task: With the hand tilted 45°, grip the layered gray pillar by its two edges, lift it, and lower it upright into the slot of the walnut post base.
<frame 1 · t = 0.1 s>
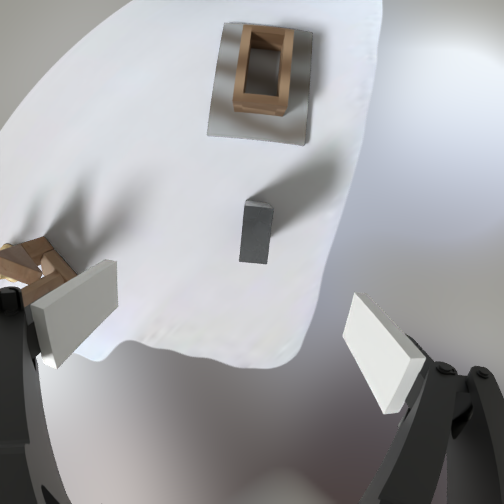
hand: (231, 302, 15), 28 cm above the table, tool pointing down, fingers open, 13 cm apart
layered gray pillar: (253, 221, 42), on the table
hand bell: (10, 262, 43), on the table
wooden angular frame: (57, 261, 43), on the table
post slot: (262, 78, 37), on the table
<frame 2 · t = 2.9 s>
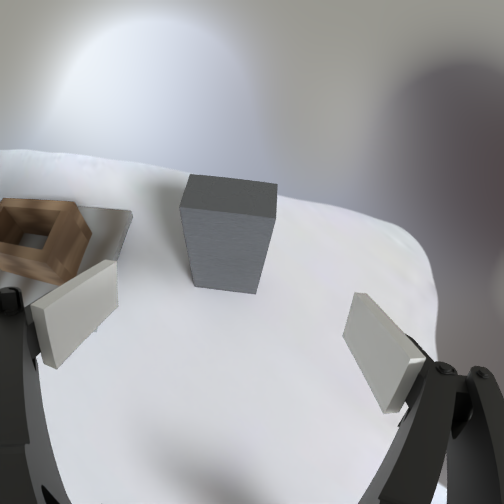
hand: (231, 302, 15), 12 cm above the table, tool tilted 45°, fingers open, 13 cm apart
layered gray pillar: (226, 276, 28), on the table
post slot: (46, 256, 27), on the table
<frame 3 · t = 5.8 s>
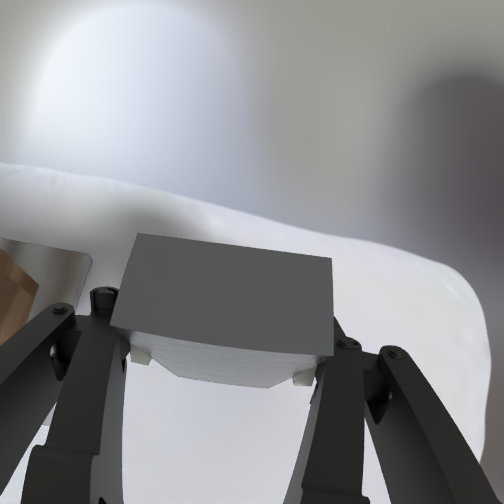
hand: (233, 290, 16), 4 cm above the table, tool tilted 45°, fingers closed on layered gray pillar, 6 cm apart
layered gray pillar: (225, 362, 18), on the table, touching gripper
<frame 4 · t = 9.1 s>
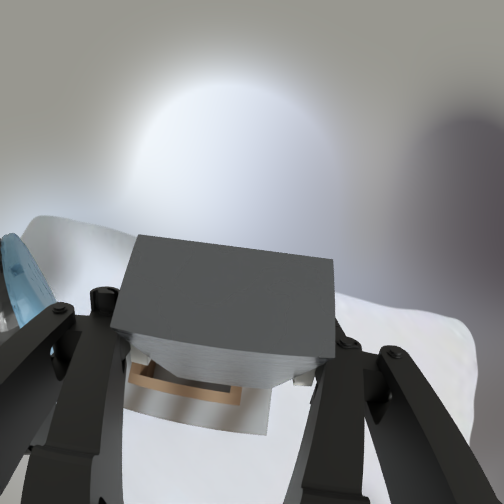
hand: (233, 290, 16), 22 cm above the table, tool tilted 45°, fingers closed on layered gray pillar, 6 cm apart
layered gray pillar: (225, 363, 18), point 18 cm above the table, touching gripper
post slot: (194, 372, 34), on the table
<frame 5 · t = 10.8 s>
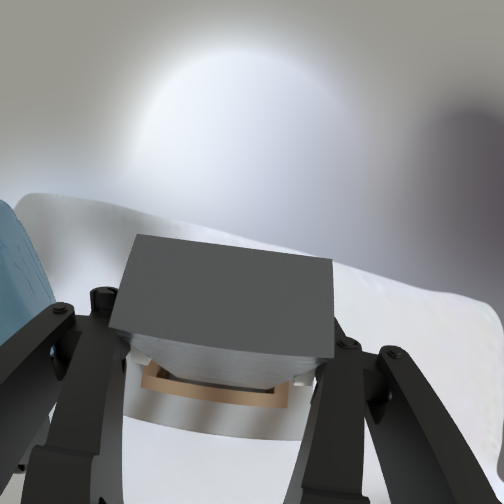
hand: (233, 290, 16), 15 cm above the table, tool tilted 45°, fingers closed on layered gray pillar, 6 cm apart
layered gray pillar: (225, 363, 18), point 12 cm above the table, touching gripper
post slot: (218, 371, 28), on the table
when the fingers open (8 cm above the table, at t = 12.5 s): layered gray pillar drops 3 cm, resting on post slot.
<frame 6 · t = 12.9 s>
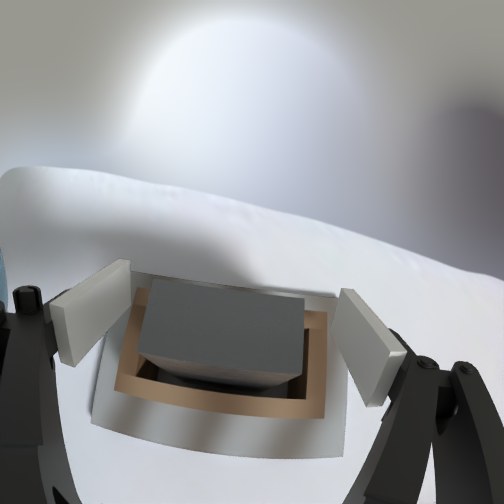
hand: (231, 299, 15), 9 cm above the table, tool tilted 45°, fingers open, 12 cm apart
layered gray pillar: (223, 369, 20), point 1 cm above the table, touching post slot
post slot: (224, 369, 21), on the table
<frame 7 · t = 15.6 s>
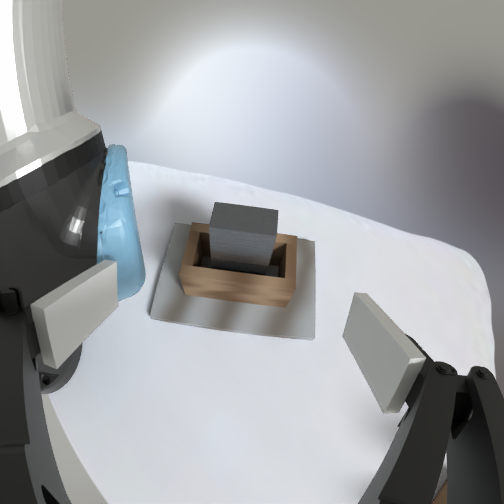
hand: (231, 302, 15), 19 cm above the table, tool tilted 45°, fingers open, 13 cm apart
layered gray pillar: (238, 277, 36), point 1 cm above the table, touching post slot
post slot: (238, 279, 37), on the table
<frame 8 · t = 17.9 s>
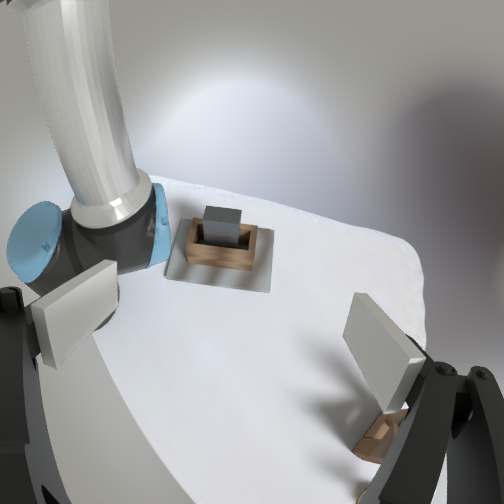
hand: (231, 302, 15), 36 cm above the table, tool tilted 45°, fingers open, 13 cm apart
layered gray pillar: (222, 252, 56), point 1 cm above the table, touching post slot
wooden angular frame: (373, 433, 40), on the table
post slot: (222, 254, 57), on the table
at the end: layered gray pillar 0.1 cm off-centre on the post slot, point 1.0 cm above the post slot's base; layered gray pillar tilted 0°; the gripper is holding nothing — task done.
